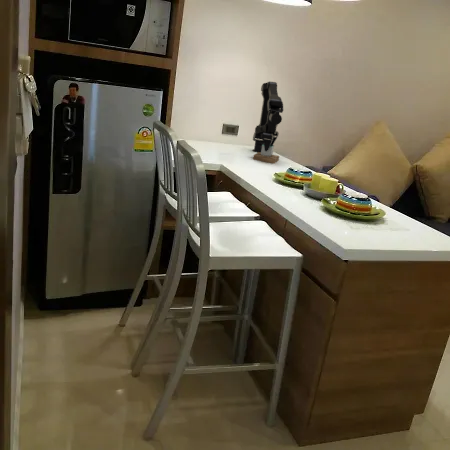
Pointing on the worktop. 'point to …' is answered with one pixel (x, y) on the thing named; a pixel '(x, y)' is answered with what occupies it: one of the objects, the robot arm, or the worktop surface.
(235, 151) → the worktop surface
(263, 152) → the block
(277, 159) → the walnut box
